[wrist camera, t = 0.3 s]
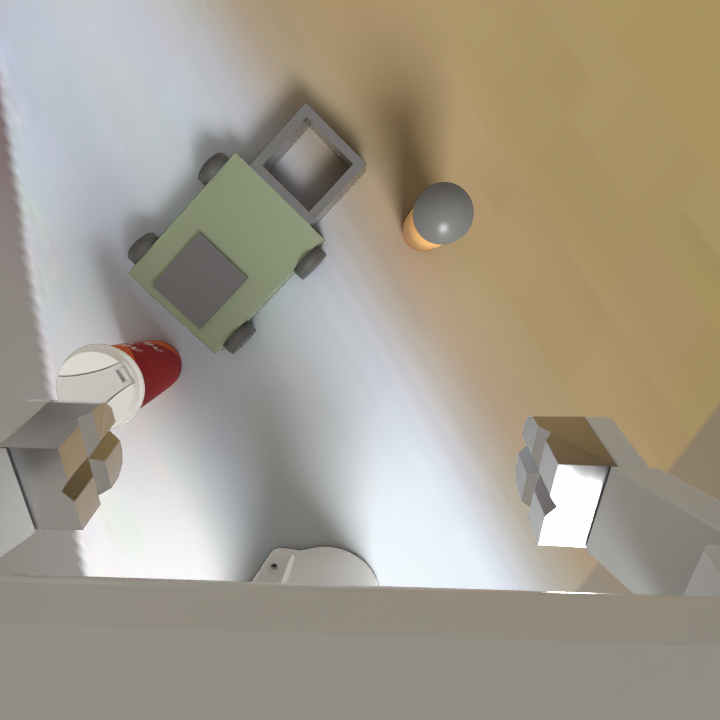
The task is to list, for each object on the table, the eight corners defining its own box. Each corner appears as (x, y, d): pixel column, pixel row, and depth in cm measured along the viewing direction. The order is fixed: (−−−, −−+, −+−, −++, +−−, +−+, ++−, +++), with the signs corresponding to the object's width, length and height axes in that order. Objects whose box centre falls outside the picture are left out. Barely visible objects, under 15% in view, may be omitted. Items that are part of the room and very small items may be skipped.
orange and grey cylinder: (423, 262, 60) (443, 256, 46) (391, 230, 59) (401, 213, 46) (456, 229, 59) (485, 212, 46) (423, 196, 59) (443, 169, 45)
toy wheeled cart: (231, 357, 62) (222, 362, 58) (132, 265, 60) (115, 264, 56) (333, 249, 60) (331, 246, 56) (233, 151, 58) (224, 141, 54)
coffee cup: (169, 319, 61) (108, 330, 46) (203, 378, 62) (154, 408, 47) (109, 350, 61) (30, 372, 47) (144, 409, 62) (78, 448, 48)
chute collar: (312, 228, 59) (309, 224, 56) (255, 172, 58) (249, 165, 55) (365, 171, 58) (366, 163, 55) (309, 113, 57) (305, 102, 54)
